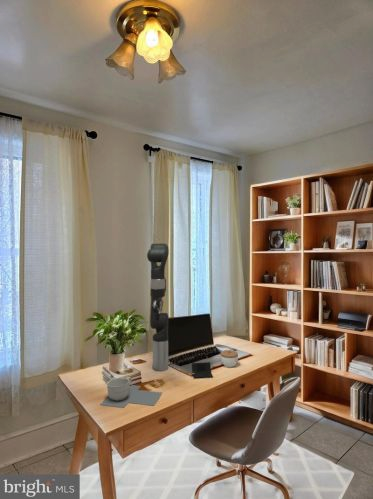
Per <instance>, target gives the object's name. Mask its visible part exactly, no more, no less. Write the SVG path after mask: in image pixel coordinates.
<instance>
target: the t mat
mask: <svg viewBox="0 0 373 499" xmlns="http://www.w3.org/2000/svg"><path fill="white" fill-rule="evenodd" d="M130 385H131V386H130V391H129V394H128V396H127V397H126V398H125V399H123V400H119V401H115V400H113V399H111V398H110V397H109V396H108V395H107V396H106V398H104V399H103V401H102V402H101V403H100V404H99V406H106V407H107V406H108V407H114V408H120V409H121V408H122V409H123V408H125V407H126V406H127V405H128V404H132V405H133V404H134V405H143V406H152V407H155V405H156V404H157V403H158V401H159V399H160V397H161V396H162V394H163V392H162V391H161V392H160V391H151V390H145V389H144V390H141V389H140V388H141V387H142V386H141V385H134V384H130Z"/></svg>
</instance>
